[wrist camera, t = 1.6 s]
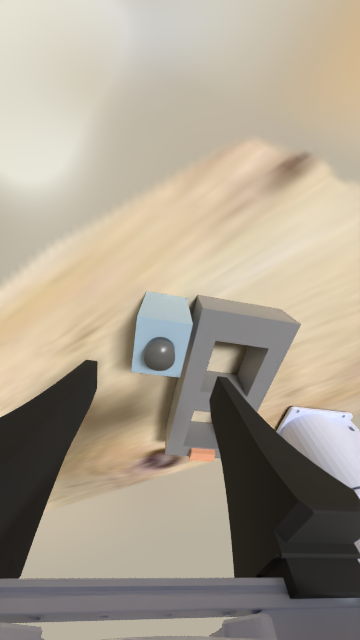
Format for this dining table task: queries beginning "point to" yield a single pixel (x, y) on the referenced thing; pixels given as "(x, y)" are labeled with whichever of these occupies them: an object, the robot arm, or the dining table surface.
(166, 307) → the plug
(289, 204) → the dining table surface
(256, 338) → the grey slotted tray
